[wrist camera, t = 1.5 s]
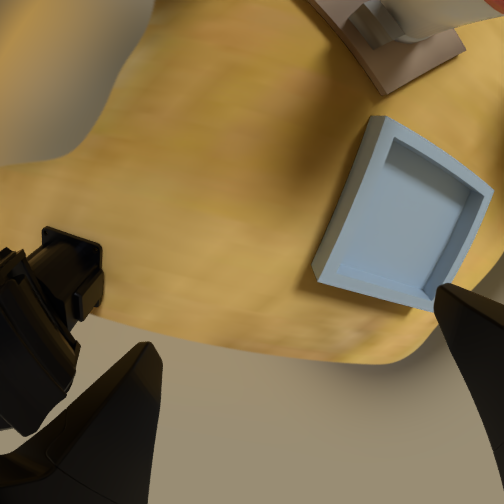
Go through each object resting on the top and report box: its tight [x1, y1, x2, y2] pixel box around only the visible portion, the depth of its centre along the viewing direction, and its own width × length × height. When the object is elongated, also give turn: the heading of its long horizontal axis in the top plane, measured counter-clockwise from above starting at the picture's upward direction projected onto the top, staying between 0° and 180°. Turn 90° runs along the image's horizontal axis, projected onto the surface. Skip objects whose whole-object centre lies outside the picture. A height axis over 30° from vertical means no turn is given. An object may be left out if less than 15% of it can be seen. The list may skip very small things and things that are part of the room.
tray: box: [311, 116, 494, 312], centre depth 19 cm, size 12×12×2 cm
